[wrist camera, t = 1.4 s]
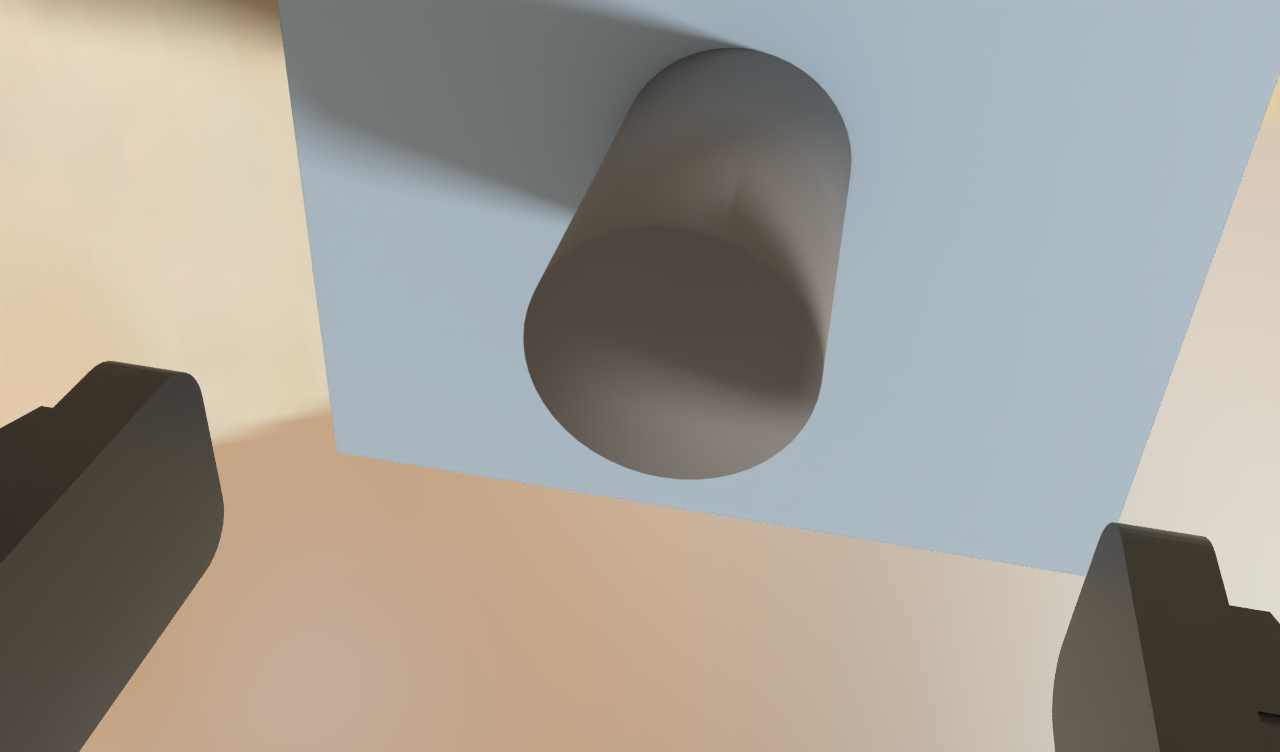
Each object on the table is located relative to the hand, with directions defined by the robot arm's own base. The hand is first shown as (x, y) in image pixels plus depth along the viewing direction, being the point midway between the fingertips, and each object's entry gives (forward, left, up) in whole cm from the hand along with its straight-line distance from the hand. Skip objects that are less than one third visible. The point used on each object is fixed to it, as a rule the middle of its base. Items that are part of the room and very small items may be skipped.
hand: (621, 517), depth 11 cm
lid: (0, 0, -10) cm, 10 cm away
